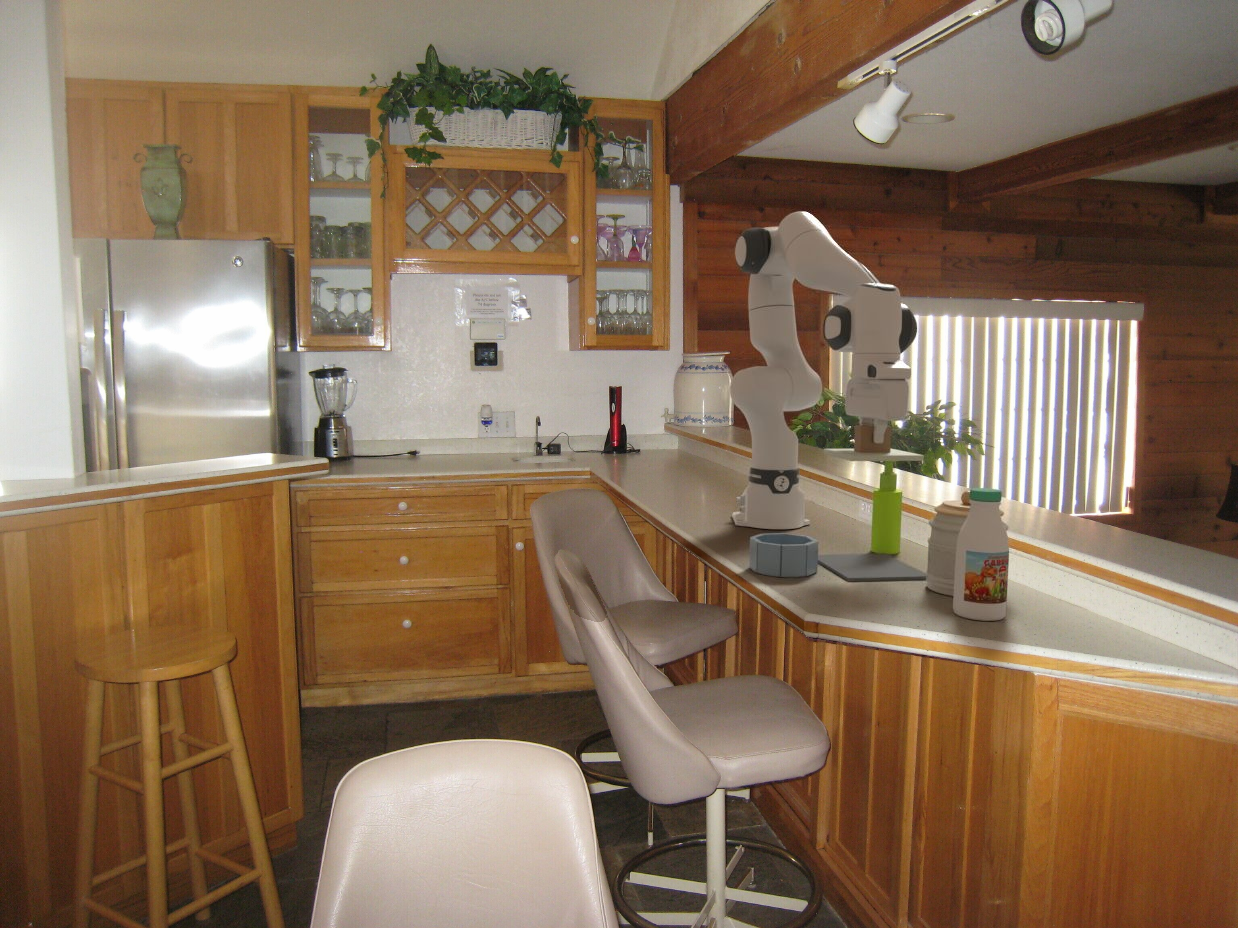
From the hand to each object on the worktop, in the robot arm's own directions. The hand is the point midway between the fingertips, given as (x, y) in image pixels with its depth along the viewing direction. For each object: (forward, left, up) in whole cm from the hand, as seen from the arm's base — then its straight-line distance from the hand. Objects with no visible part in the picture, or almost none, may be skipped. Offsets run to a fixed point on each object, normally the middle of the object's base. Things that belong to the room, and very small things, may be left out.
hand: (872, 442), depth 166 cm
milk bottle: (+33, +4, -25) cm, 41 cm away
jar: (+18, +10, -25) cm, 32 cm away
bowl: (0, -17, -25) cm, 30 cm away
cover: (0, 0, -3) cm, 3 cm away
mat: (0, 0, -25) cm, 25 cm away
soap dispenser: (-15, +10, -25) cm, 31 cm away
